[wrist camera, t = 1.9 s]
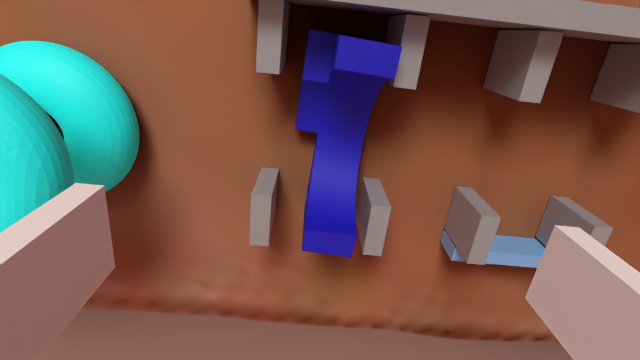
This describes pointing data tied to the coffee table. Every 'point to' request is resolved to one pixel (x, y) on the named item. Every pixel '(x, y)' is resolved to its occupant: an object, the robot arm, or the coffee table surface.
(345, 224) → the blue curved block
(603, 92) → the grey peg rack
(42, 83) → the donuts
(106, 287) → the coffee table surface
